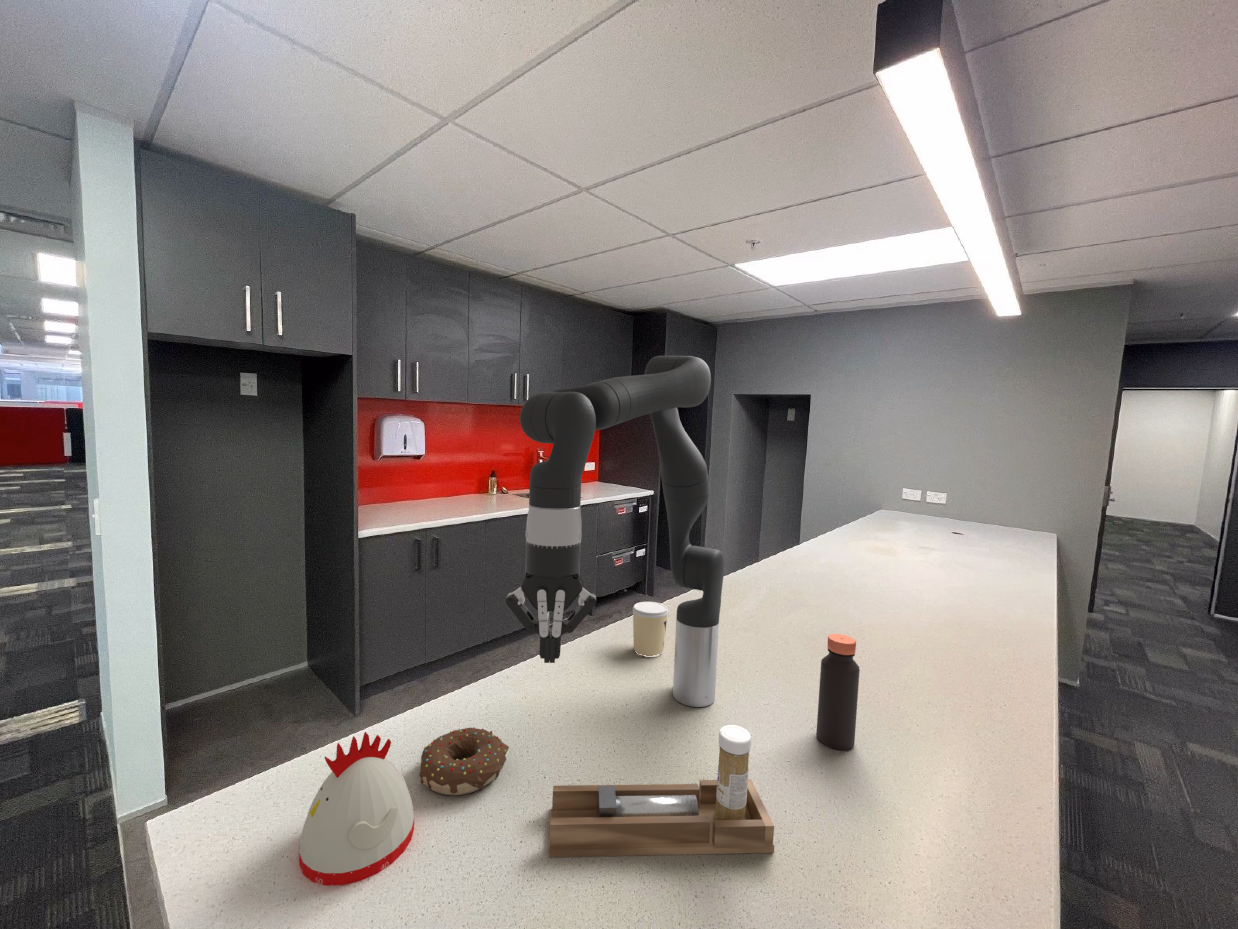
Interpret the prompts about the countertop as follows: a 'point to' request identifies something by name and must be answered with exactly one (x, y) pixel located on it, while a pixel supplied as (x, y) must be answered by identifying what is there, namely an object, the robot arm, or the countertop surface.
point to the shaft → (644, 804)
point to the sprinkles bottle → (732, 773)
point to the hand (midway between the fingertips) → (549, 660)
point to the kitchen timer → (356, 817)
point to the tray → (655, 824)
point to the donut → (462, 761)
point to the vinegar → (838, 694)
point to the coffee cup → (649, 627)
